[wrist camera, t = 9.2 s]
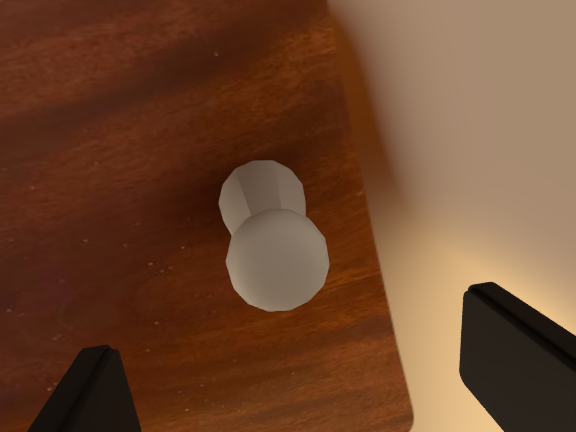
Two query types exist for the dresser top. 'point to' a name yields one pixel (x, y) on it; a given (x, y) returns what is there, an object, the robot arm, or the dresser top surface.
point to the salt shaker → (271, 237)
